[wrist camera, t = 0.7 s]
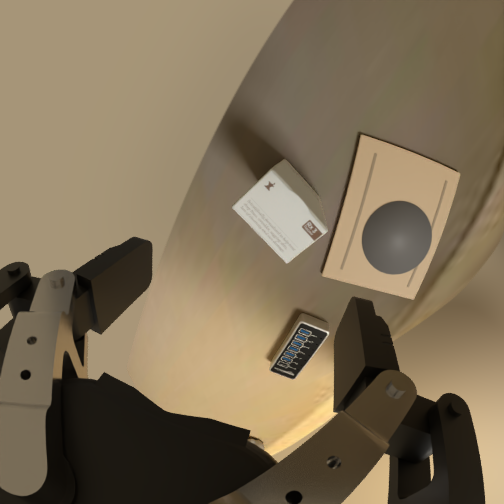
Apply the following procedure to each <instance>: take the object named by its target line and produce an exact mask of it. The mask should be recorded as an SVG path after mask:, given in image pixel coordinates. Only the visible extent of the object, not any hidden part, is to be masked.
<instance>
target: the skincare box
mask: <svg viewBox="0 0 504 504" xmlns="http://www.w3.org/2000/svg"><path fill="white" fill-rule="evenodd" d="M232 208H233V209H234V210H235V211H236V212H237V213H238V214H239V215H240V216H241V217H242V218H243V219H244V220H245V221H246V222H247V223H248V224H249V225H250V226H251V227H252V228H253V229H254V231H255V232H256V233H257V234H258V235H259V236H260V237H261V238H262V239H263V240H264V241H265V242H266V243H267V244H268V245H269V246H270V247H271V248H272V249H273V250H274V251H275V252H276V253H277V254H278V255H279V256H280V257H281V258H282V259H283V260H284V261H285V263H288V262H290V261H291V260H292V259H293V258H295V257H296V256H297V255H298V254H300V253H301V252H302V251H303V250H305V249H306V248H307V247H308V246H310V245H311V244H312V243H314V242H315V241H316V240H317V239H319V238H320V237H321V236H323V235H324V234H325V233H326V232H327V231H328V229H327V225H326V220H325V216H324V212H323V208H322V204H321V200H320V197H319V196H318V194H317V193H316V192H315V191H314V190H313V189H312V188H311V186H310V185H309V184H308V183H307V182H306V181H305V180H304V179H303V177H302V176H301V175H300V174H299V173H298V172H297V171H296V170H295V169H294V168H293V166H292V165H291V164H290V163H289V162H288V161H287V160H286V159H283V160H282V161H281V162H279V163H278V164H276V165H275V166H274V167H273V168H271V169H270V170H269V171H268V172H267V173H266V174H265V175H264V176H263V177H262V178H261V179H260V180H259V181H258V182H256V183H255V184H254V185H253V186H252V187H251V188H250V189H249V190H248V191H247V192H246V193H245V194H244V195H243V196H242V197H241V198H240V199H239V200H238V201H236V202H235V203H234V204H233V206H232Z"/></svg>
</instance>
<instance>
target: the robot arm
mask: <svg viewBox="0 0 504 504" xmlns="http://www.w3.org/2000/svg"><path fill="white" fill-rule="evenodd" d="M151 279H152V243H151V242H150V241H148V240H144V239H141V238H138V237H132V238H130V239H129V240H127V241H125V242H124V243H122V244H121V245H118V246H115V247H112V248H109V249H108V250H106V251H104V252H103V253H101V255H98V256H97V257H95V259H92V260H90V261H89V262H87V263H86V264H85V265H83V266H81V267H80V268H78V269H77V270H75V271H74V272H70V271H67V270H54V271H51V272H49V273H47V274H45V275H44V276H43V277H42V278H36V277H31V273H30V269H29V266H28V264H26V263H24V262H15V263H11V264H9V265H7V266H5V267H4V268H2V269H1V270H0V309H2V308H3V307H4V306H5V305H6V304H9V307H10V310H11V313H12V316H13V319H12V320H10V321H9V322H8V323H7V324H6V325H5V326H4V327H3V328H2V329H0V504H341V503H342V502H343V501H344V500H345V499H346V498H347V497H348V496H349V495H350V494H351V493H352V492H353V491H354V489H355V488H356V487H357V486H358V485H359V484H360V483H361V482H362V480H363V479H364V478H365V477H366V476H367V474H368V473H369V472H370V471H371V470H372V469H373V467H374V466H375V465H376V464H377V462H378V461H379V460H380V458H381V457H382V456H383V454H384V453H385V454H388V455H390V471H389V493H388V504H485V492H484V482H483V474H482V467H481V460H480V454H479V449H478V444H477V439H476V434H475V430H474V426H473V422H472V418H471V414H470V410H469V408H468V405H467V404H466V402H465V401H464V400H463V399H462V398H461V397H459V396H458V395H456V394H452V393H446V394H443V395H442V396H441V397H440V398H439V399H438V400H437V401H436V402H434V401H431V400H429V399H426V398H424V397H421V396H419V395H417V390H416V387H415V385H414V383H413V381H412V380H411V379H410V378H409V377H408V376H406V375H405V374H403V373H402V372H400V370H399V365H398V361H397V357H396V353H395V349H394V346H393V342H392V338H390V337H391V335H390V331H389V328H388V325H387V324H386V323H385V321H384V320H383V319H382V317H380V316H376V314H375V310H374V306H373V303H372V301H370V300H366V299H362V298H358V297H352V298H351V300H350V302H349V304H348V306H347V309H346V311H345V313H344V315H343V318H342V320H341V322H340V324H339V327H338V329H337V331H336V335H335V339H334V408H333V412H336V413H338V414H337V415H336V416H335V417H334V418H333V419H332V420H331V421H329V422H328V423H327V424H326V425H325V426H324V427H323V428H322V429H320V430H319V431H318V432H317V433H316V434H315V435H313V436H312V437H311V438H310V439H309V440H307V441H306V442H305V443H304V444H302V445H301V446H300V447H299V448H297V449H296V450H295V451H293V452H292V453H291V454H290V455H288V456H287V457H286V458H284V459H283V460H282V461H280V462H279V463H278V462H277V461H276V460H274V458H273V457H272V456H271V455H269V454H268V453H267V452H266V451H264V450H263V449H262V448H260V447H258V446H257V445H255V444H254V443H252V442H250V441H248V437H249V434H250V431H251V430H247V429H243V428H239V427H236V426H232V425H229V424H226V423H223V422H219V421H216V420H213V419H210V418H201V417H194V416H187V415H181V414H175V413H170V412H167V411H164V410H163V409H161V408H160V407H159V406H157V405H156V404H155V403H153V402H152V401H151V400H149V399H148V398H147V397H146V396H144V395H143V394H142V393H140V392H139V391H138V390H137V389H135V388H134V387H132V386H130V385H128V384H126V383H124V382H122V381H120V380H118V379H116V378H114V377H112V376H110V375H108V374H107V373H105V372H104V373H103V374H102V376H101V377H100V378H99V379H98V380H93V379H88V373H87V372H88V370H87V356H88V336H87V331H88V330H89V329H92V330H93V331H95V332H97V333H99V334H102V333H103V332H104V331H105V330H106V329H107V328H108V327H109V326H110V325H111V324H112V323H113V322H114V321H115V320H116V319H117V318H118V317H119V316H120V315H121V314H122V313H123V312H124V311H125V310H126V309H127V308H128V307H129V306H130V305H131V304H132V303H133V302H134V301H135V300H136V299H137V298H138V297H139V296H140V295H141V294H142V293H143V292H144V291H145V290H146V289H147V288H148V287H149V285H150V283H151ZM432 454H433V463H434V476H433V479H432V481H431V474H430V459H429V456H430V455H432Z"/></svg>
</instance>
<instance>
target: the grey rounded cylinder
mask: <svg viewBox="0 0 504 504" xmlns="http://www.w3.org/2000/svg"><path fill="white" fill-rule="evenodd" d="M248 441H250V442H252V443H254V444H255V445H257V446H258V447H260V448H262V449H263V450H264V445H263V443H262V442H261V441H260V440H254V439H248Z"/></svg>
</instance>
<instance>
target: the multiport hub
mask: <svg viewBox="0 0 504 504" xmlns="http://www.w3.org/2000/svg"><path fill="white" fill-rule="evenodd" d="M328 335H329V324H328V323H327V322H324V321H322V320H319V319H317V318H314V317H312V316H310V315H307V314H305V313H301V314H300V315H299V317H298V319H297V320H296V322H295V324H294V325H293V327H292V329H291V330H290V332H289V334H288V335H287V337H286V338H285V340H284V342H283V343H282V345H281V346H280V348H279V349H278V351H277V353H276V354H275V356H274V357H273V359H272V360H271V364H270V368H269V370H270V371H271V372H273V373H276V374H279V375H281V376H284V377H287V378H290V379H296V378H297V376H298V375H299V374H300V373H301V371H302V370H303V369H304V367H305V366H306V365H307V364H308V362H309V361H310V360H311V358H312V357H313V356H314V354H315V353H316V352H317V350H318V349H319V348H320V346H321V345H322V344H323V342H324V341H325V339H326V338H327V337H328Z"/></svg>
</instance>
